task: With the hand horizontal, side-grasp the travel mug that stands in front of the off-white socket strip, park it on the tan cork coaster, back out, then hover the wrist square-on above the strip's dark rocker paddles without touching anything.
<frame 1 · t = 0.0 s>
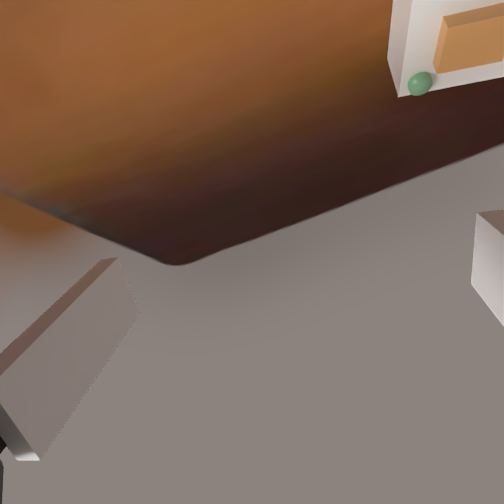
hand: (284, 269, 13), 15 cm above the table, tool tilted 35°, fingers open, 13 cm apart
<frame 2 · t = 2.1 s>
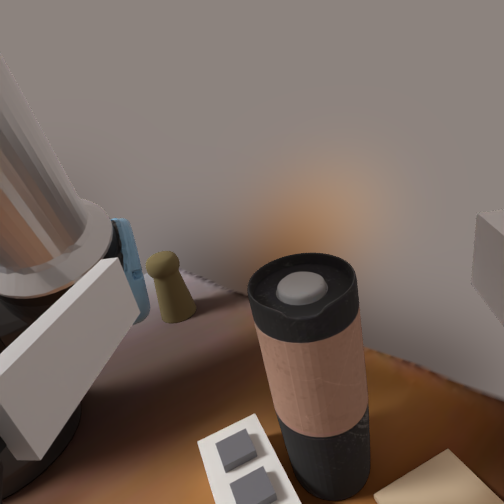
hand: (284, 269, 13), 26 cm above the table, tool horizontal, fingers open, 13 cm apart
travel mug: (330, 461, 33), on the table
pepper shaker: (179, 312, 60), on the table
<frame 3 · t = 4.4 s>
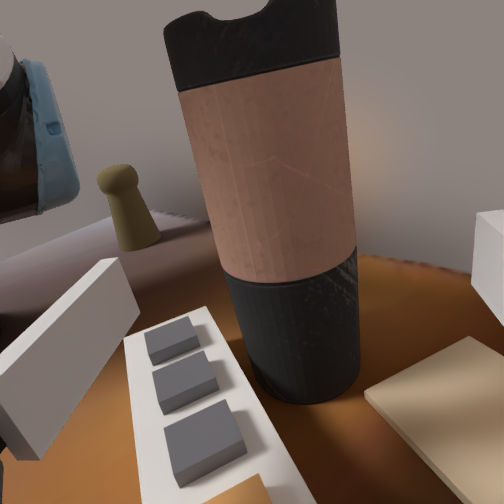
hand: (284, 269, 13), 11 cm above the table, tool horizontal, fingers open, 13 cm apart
socket strip: (213, 459, 19), on the table
travel mug: (306, 363, 24), on the table
pepper shaker: (141, 242, 51), on the table
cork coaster: (480, 418, 18), on the table
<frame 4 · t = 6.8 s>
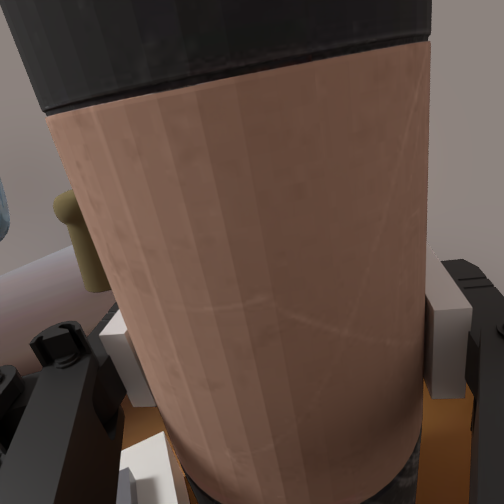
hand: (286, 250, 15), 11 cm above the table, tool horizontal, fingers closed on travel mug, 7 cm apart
pepper shaker: (112, 279, 43), on the table
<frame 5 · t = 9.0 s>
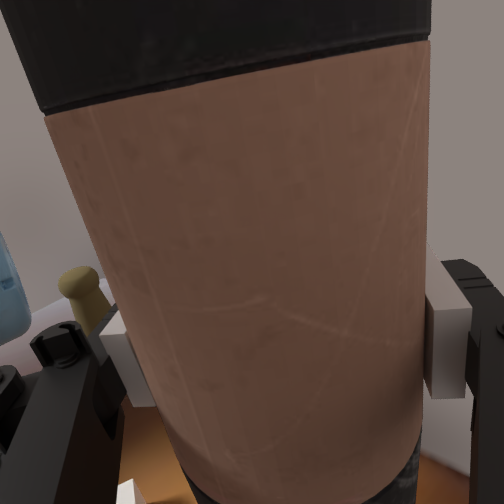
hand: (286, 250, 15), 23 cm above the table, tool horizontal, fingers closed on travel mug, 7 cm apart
pepper shaker: (104, 335, 54), on the table
when the fingers open (12 cm above the table, at t = 11.4 s): travel mug stays where it is, resting on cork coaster.
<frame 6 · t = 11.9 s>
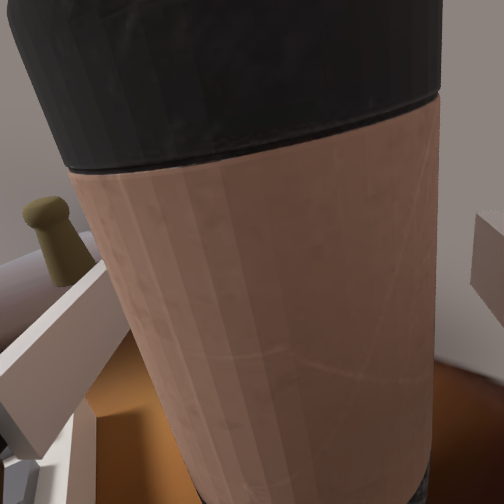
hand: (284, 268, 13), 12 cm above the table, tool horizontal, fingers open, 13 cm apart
pepper shaker: (76, 276, 49), on the table
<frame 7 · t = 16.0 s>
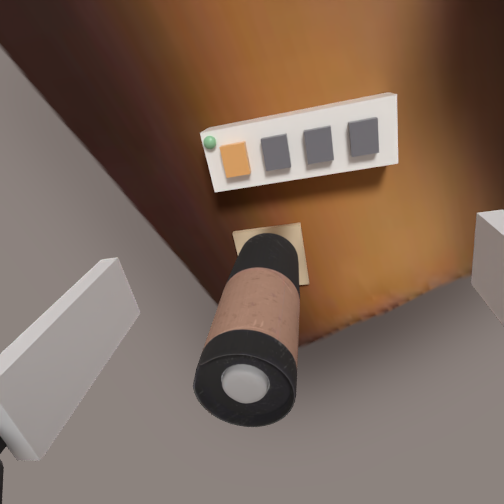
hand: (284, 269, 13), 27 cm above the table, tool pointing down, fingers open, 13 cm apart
socket strip: (298, 141, 37), on the table
travel mug: (268, 258, 43), resting on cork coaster
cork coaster: (272, 257, 43), on the table
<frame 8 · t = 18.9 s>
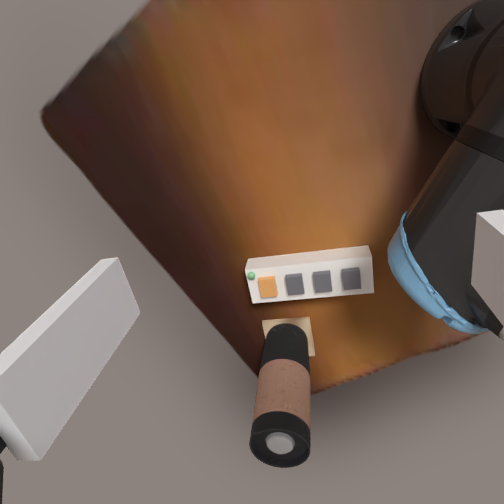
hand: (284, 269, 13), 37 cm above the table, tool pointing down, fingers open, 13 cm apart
socket strip: (308, 269, 55), on the table
travel mug: (286, 338, 61), resting on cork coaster
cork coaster: (289, 337, 62), on the table
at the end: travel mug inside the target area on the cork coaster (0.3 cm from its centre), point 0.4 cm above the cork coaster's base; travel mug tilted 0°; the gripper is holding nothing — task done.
